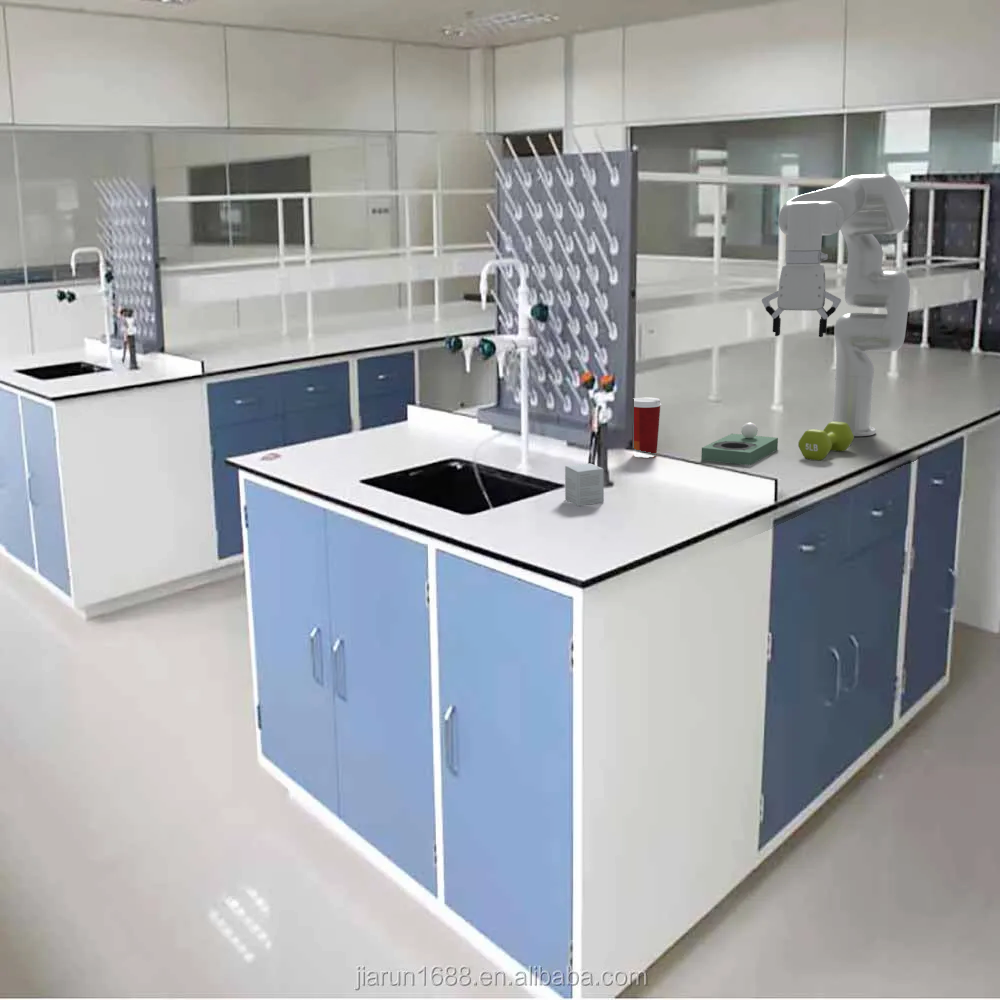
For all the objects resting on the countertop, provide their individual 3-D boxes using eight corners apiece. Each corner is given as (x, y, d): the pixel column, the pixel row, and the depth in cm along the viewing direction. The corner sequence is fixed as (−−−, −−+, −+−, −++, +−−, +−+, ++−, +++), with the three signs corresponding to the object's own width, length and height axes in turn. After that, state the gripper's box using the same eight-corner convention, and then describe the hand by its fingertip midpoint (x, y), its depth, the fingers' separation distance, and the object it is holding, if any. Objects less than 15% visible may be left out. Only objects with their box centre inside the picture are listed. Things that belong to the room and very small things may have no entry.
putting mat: (731, 445, 271) (731, 433, 271) (777, 449, 265) (778, 437, 264) (701, 460, 255) (701, 447, 254) (749, 465, 249) (750, 452, 248)
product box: (590, 496, 223) (591, 462, 221) (604, 503, 218) (604, 468, 216) (564, 499, 221) (564, 465, 219) (577, 506, 216) (577, 471, 214)
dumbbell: (825, 447, 267) (826, 419, 265) (855, 451, 262) (857, 422, 260) (794, 458, 255) (796, 429, 254) (826, 463, 250) (827, 433, 248)
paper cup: (665, 454, 262) (667, 398, 258) (652, 460, 256) (653, 402, 252) (637, 451, 266) (638, 396, 262) (623, 457, 260) (623, 400, 256)
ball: (744, 436, 267) (744, 420, 266) (759, 437, 265) (760, 421, 264) (738, 439, 264) (739, 423, 263) (754, 440, 261) (754, 424, 260)
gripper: (844, 258, 238) (840, 335, 242) (766, 258, 244) (762, 333, 248) (842, 259, 231) (837, 338, 235) (761, 259, 237) (757, 336, 241)
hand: (799, 336), depth 242 cm, fingers open, 9 cm apart
